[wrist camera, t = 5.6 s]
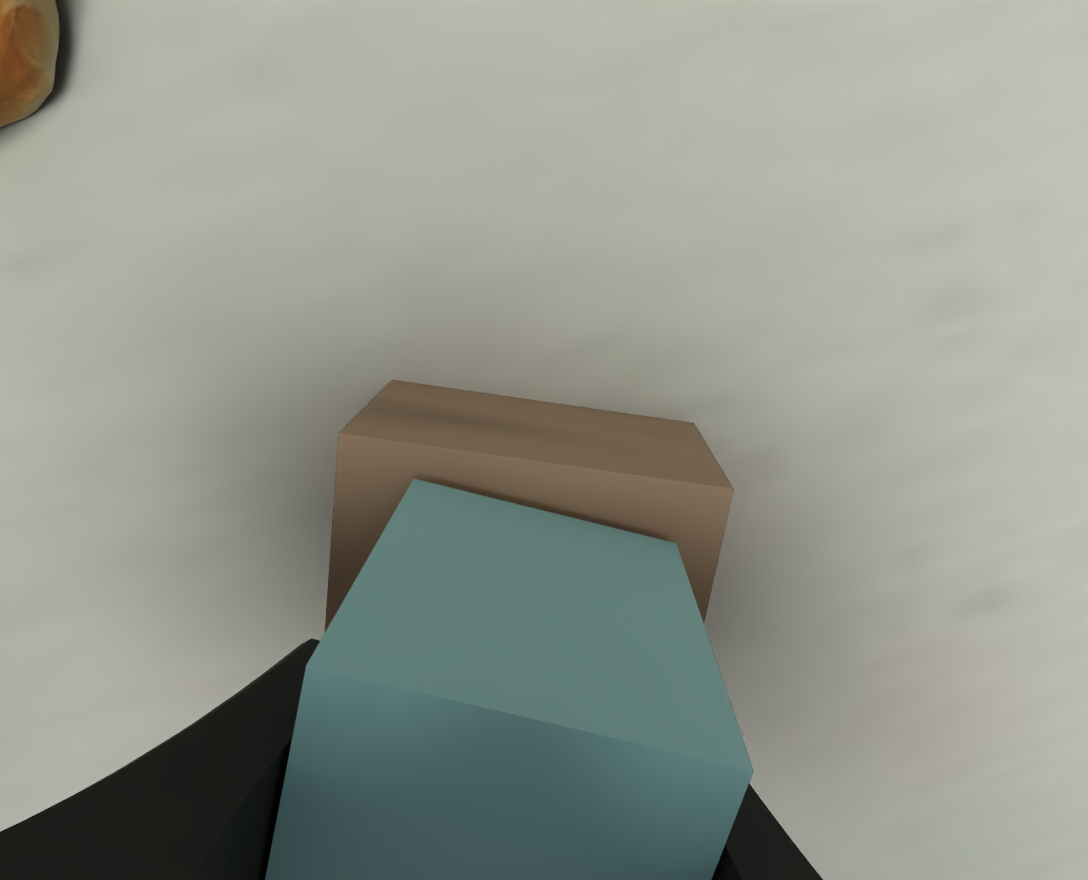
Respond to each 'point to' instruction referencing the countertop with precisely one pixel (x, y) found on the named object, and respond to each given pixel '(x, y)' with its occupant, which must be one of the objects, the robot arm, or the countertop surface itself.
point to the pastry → (26, 56)
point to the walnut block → (526, 471)
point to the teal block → (511, 709)
